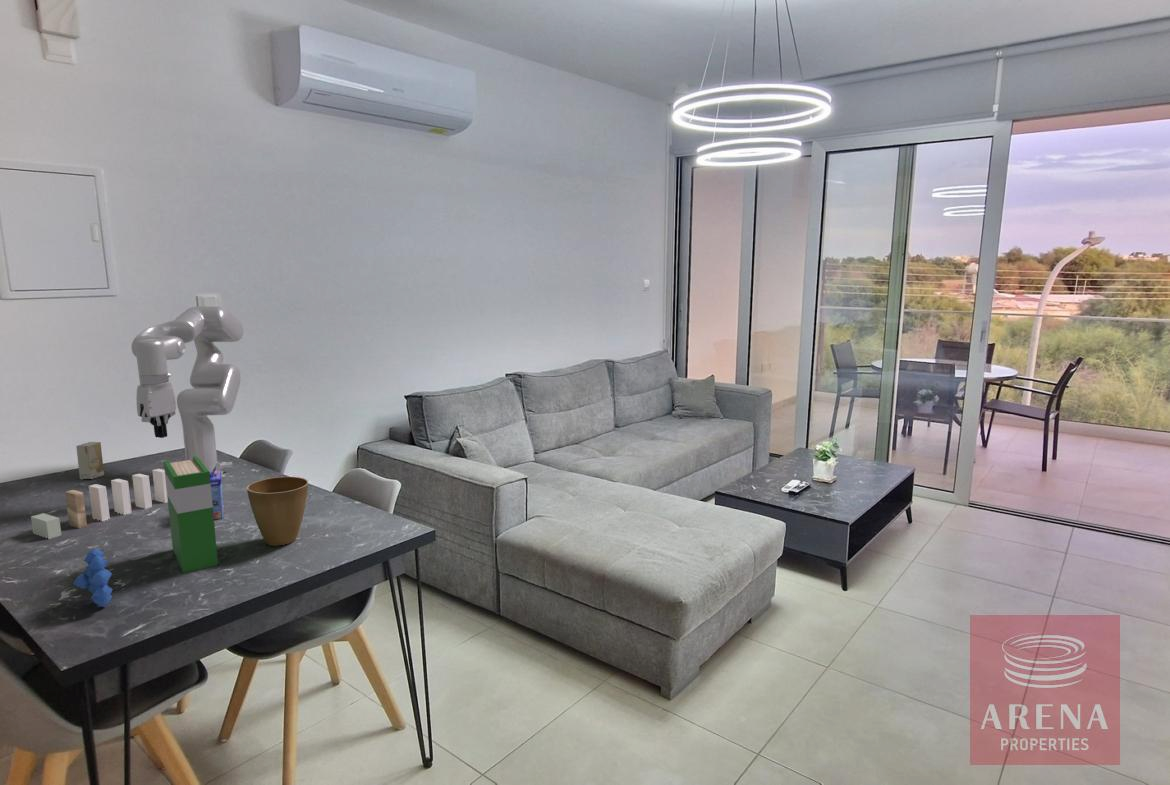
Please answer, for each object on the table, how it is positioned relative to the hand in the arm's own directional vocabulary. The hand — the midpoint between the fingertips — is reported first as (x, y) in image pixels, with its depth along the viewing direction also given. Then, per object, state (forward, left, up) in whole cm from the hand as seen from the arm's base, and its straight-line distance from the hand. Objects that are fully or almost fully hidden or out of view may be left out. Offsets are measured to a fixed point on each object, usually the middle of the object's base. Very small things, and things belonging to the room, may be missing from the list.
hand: (161, 436), depth 206 cm
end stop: (+31, +12, -21) cm, 39 cm away
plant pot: (-15, +59, -21) cm, 64 cm away
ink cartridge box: (-7, +25, -21) cm, 33 cm away
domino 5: (+1, +1, -21) cm, 21 cm away
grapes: (+27, +68, -21) cm, 76 cm away
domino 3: (+13, +5, -21) cm, 25 cm away
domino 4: (+7, +3, -21) cm, 22 cm away
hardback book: (+5, +55, -21) cm, 59 cm away
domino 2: (+18, +7, -21) cm, 28 cm away
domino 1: (+24, +9, -21) cm, 33 cm away
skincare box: (+14, -44, -21) cm, 51 cm away
